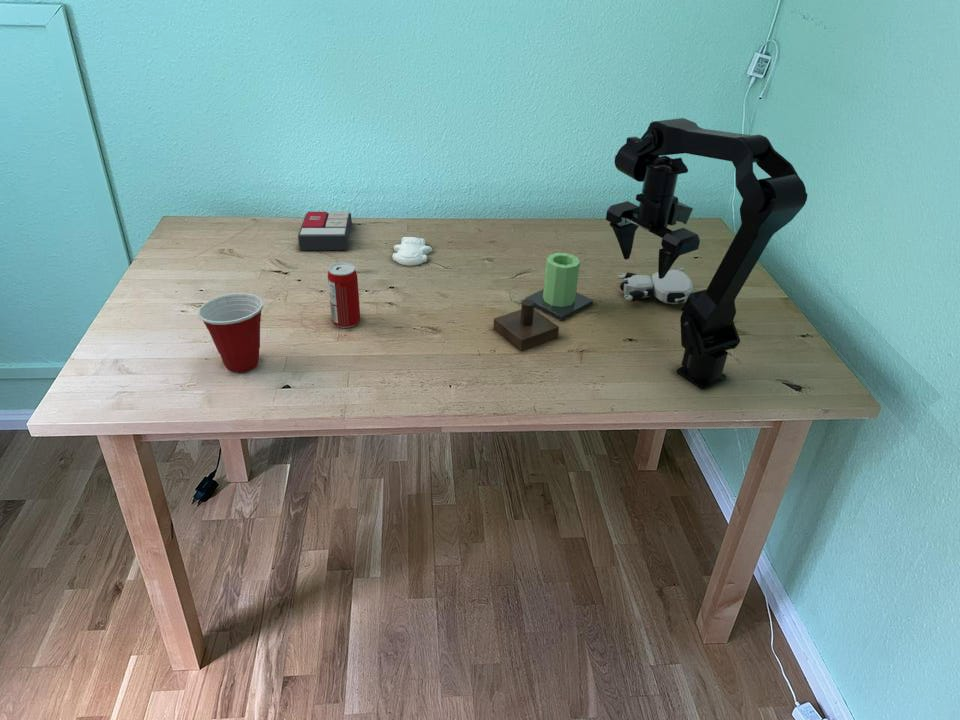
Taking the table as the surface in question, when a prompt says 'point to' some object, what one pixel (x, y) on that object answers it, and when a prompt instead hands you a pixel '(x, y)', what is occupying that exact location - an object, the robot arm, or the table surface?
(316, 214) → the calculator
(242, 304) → the plastic cup
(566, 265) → the green faceted hollow cylinder
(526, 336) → the stacking stand
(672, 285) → the robot toy
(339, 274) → the soda can
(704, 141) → the robot arm
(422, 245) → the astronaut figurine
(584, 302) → the slate coaster
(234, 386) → the table surface
